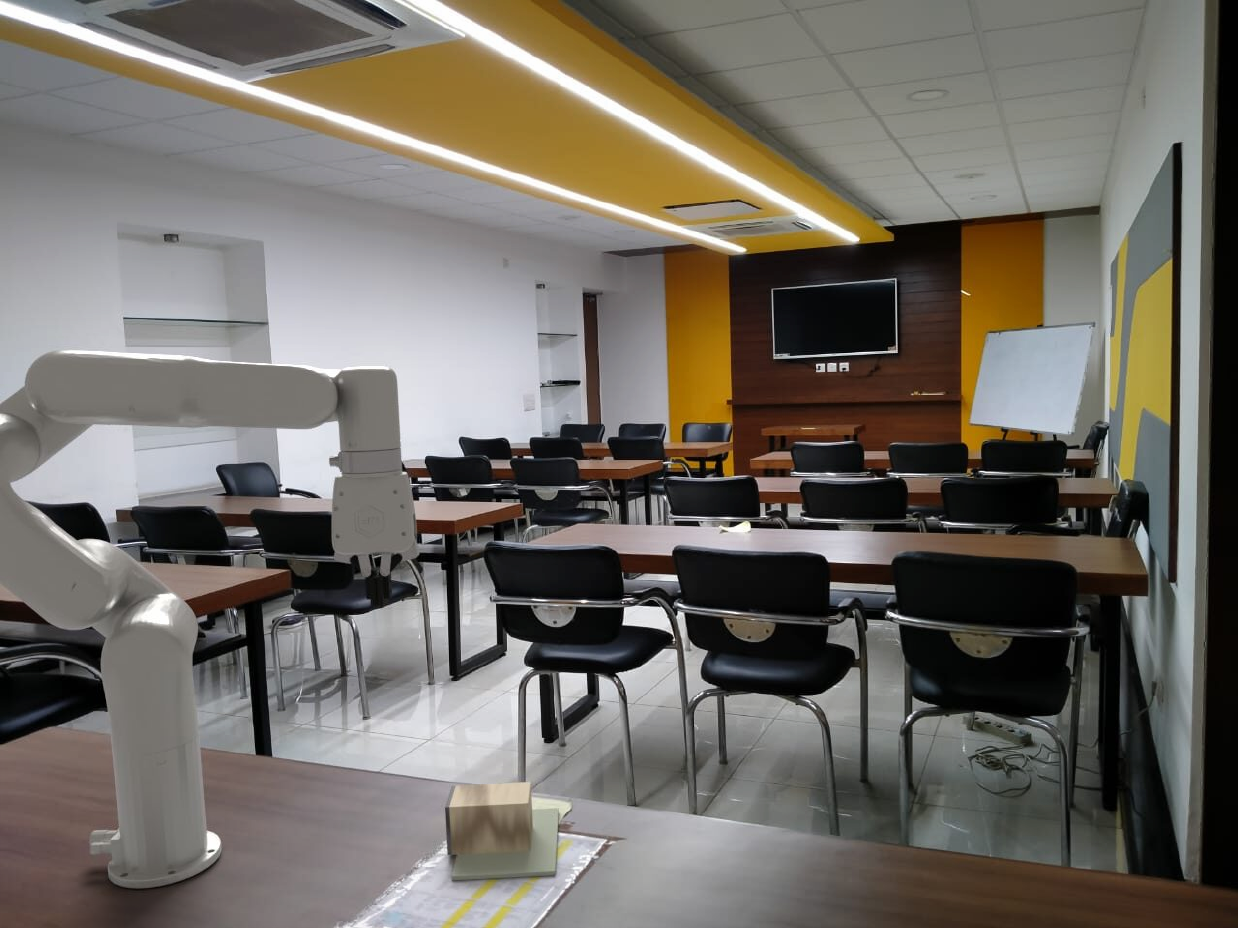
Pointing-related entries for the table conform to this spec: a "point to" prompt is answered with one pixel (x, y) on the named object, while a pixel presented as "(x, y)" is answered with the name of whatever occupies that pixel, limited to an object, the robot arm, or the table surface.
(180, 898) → the table surface
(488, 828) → the maple block
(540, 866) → the rubber mat
